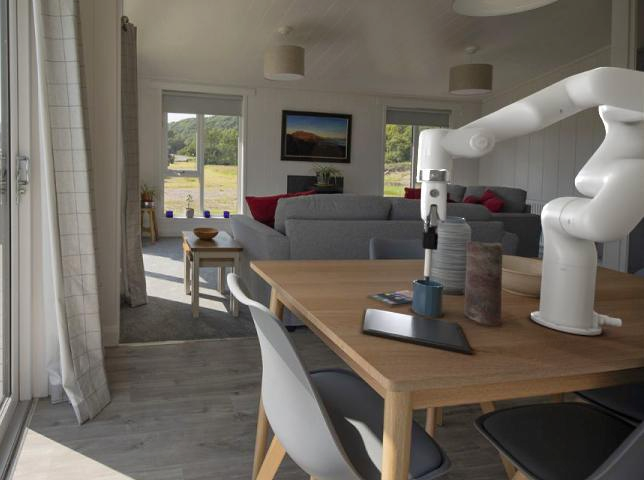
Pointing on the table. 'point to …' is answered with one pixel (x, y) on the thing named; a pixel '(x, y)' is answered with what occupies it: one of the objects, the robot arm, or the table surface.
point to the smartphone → (395, 297)
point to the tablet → (415, 330)
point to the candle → (483, 282)
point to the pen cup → (427, 297)
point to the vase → (451, 255)
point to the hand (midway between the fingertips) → (429, 247)
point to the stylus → (428, 264)
